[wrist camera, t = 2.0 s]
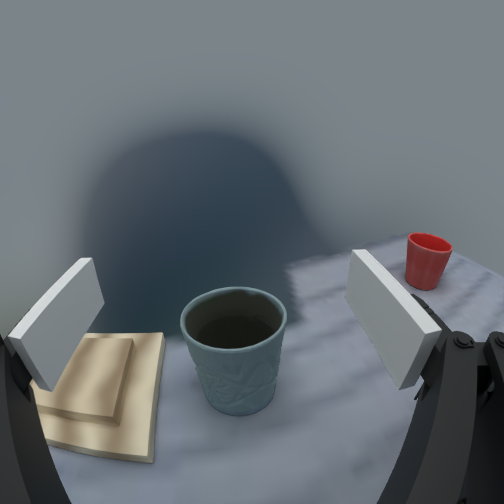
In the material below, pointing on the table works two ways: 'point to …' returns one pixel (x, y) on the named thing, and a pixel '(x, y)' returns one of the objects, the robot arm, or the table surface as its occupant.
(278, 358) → the blue-grey embossed cup
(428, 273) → the flower pot
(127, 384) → the stepped square base
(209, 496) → the table surface
